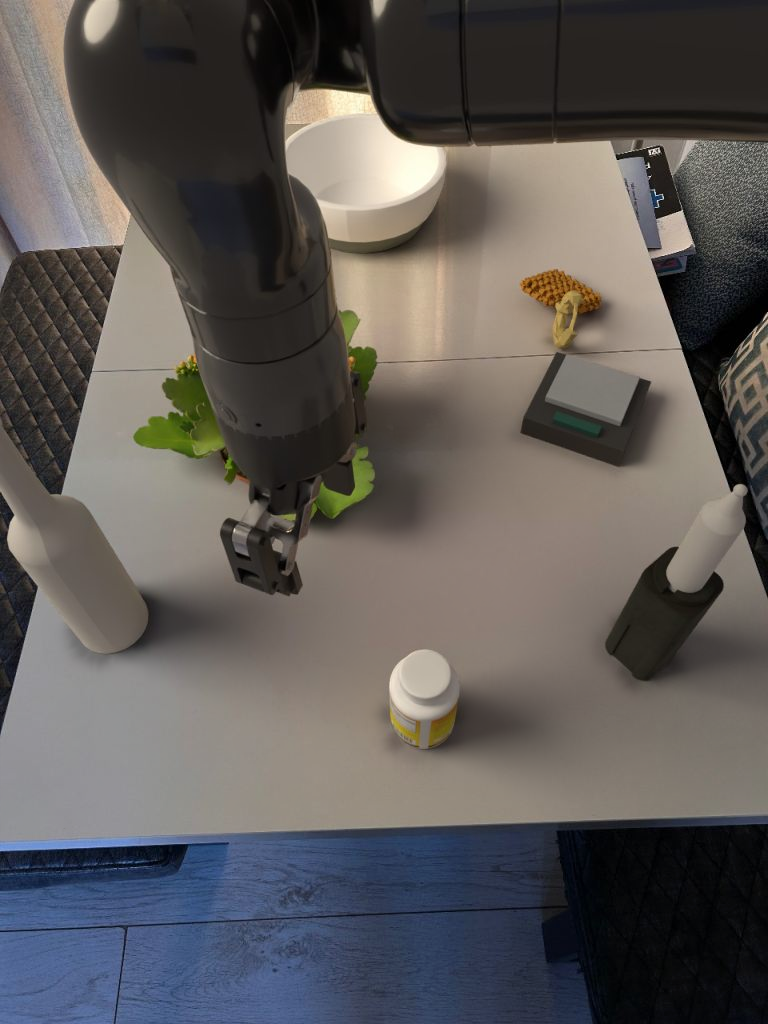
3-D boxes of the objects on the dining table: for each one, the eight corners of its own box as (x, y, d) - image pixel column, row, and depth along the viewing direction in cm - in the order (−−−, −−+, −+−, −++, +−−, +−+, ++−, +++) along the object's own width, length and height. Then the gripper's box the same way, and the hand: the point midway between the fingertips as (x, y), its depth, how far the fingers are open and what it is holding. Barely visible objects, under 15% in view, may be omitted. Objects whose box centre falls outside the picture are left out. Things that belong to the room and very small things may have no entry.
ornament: (525, 239, 95) (539, 297, 84) (604, 258, 96) (628, 318, 85) (507, 288, 100) (518, 349, 89) (583, 305, 101) (603, 368, 90)
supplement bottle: (455, 691, 68) (464, 642, 59) (452, 753, 64) (461, 711, 56) (392, 685, 68) (392, 636, 59) (386, 748, 65) (385, 705, 56)
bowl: (451, 174, 112) (455, 118, 105) (434, 273, 99) (437, 216, 92) (300, 163, 114) (294, 107, 107) (266, 259, 101) (256, 202, 95)
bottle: (76, 599, 73) (-73, 399, 50) (145, 583, 74) (31, 379, 51) (79, 661, 70) (-80, 477, 46) (152, 643, 70) (32, 454, 47)
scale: (645, 397, 87) (653, 376, 84) (617, 466, 81) (625, 446, 78) (552, 367, 90) (557, 346, 87) (520, 432, 84) (524, 412, 81)
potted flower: (127, 540, 77) (66, 426, 62) (167, 370, 90) (124, 243, 76) (376, 540, 76) (372, 425, 62) (379, 369, 90) (376, 242, 75)
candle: (599, 645, 70) (685, 483, 49) (635, 612, 72) (733, 442, 51) (643, 686, 68) (753, 533, 47) (679, 651, 69) (800, 490, 49)
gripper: (279, 504, 35) (318, 642, 49) (396, 304, 42) (402, 474, 56) (143, 457, 37) (217, 603, 51) (276, 273, 44) (310, 445, 58)
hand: (314, 535), depth 53 cm, fingers open, 8 cm apart
